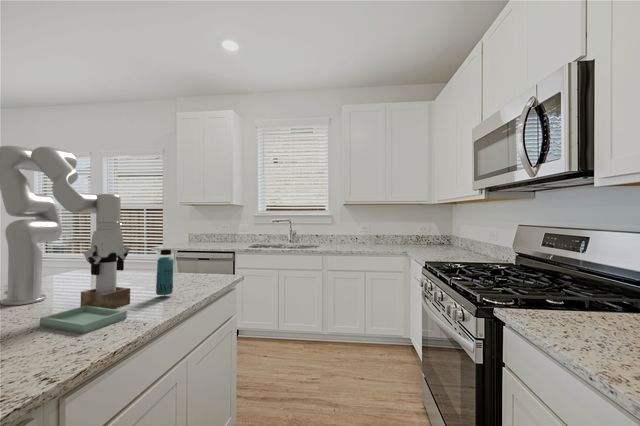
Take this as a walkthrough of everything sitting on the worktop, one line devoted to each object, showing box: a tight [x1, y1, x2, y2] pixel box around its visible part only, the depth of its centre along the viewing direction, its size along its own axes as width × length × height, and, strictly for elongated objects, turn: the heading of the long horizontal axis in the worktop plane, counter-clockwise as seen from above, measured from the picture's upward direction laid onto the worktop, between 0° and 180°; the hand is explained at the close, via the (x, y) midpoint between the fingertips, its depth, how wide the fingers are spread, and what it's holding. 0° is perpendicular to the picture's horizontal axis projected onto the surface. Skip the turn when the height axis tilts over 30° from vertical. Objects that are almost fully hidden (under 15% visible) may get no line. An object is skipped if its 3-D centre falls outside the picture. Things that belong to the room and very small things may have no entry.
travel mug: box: [95, 253, 118, 294], centre depth 115 cm, size 6×7×20 cm
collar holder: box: [80, 286, 131, 309], centre depth 115 cm, size 11×10×6 cm
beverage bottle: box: [155, 248, 175, 296], centre depth 130 cm, size 6×7×20 cm
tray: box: [39, 305, 128, 335], centre depth 98 cm, size 18×14×2 cm
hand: (108, 272), depth 115 cm, fingers open, 9 cm apart
